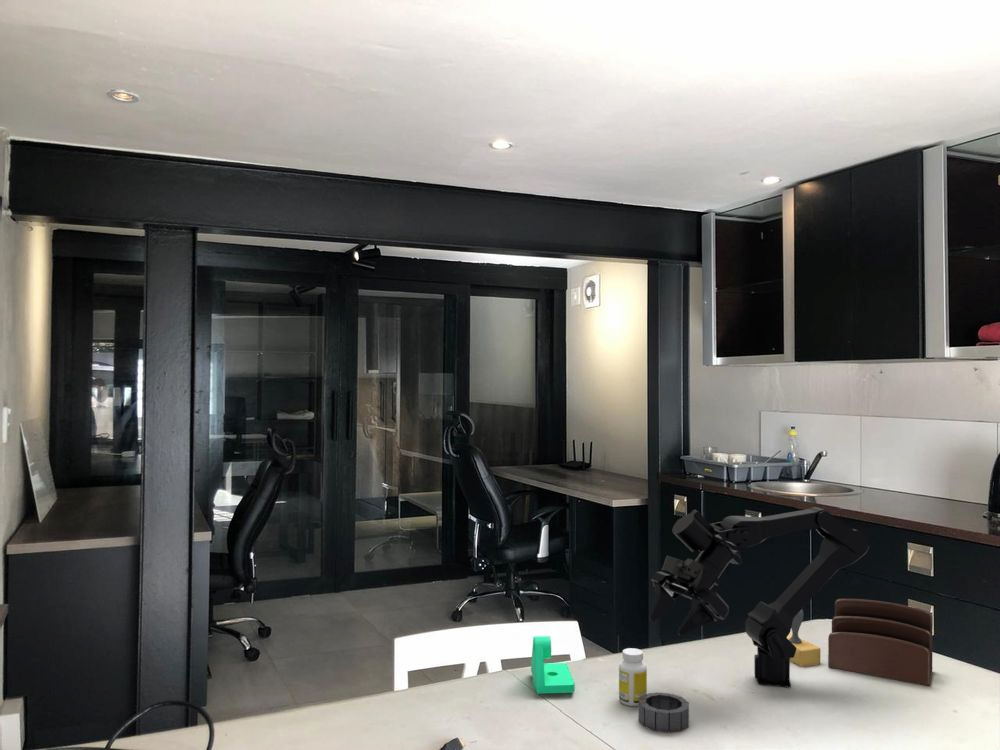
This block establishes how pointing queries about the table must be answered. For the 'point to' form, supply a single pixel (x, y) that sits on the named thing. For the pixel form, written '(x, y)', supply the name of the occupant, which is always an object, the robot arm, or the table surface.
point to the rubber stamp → (802, 646)
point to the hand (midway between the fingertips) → (664, 627)
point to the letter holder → (881, 640)
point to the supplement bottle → (632, 677)
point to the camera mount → (549, 669)
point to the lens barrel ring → (664, 712)
